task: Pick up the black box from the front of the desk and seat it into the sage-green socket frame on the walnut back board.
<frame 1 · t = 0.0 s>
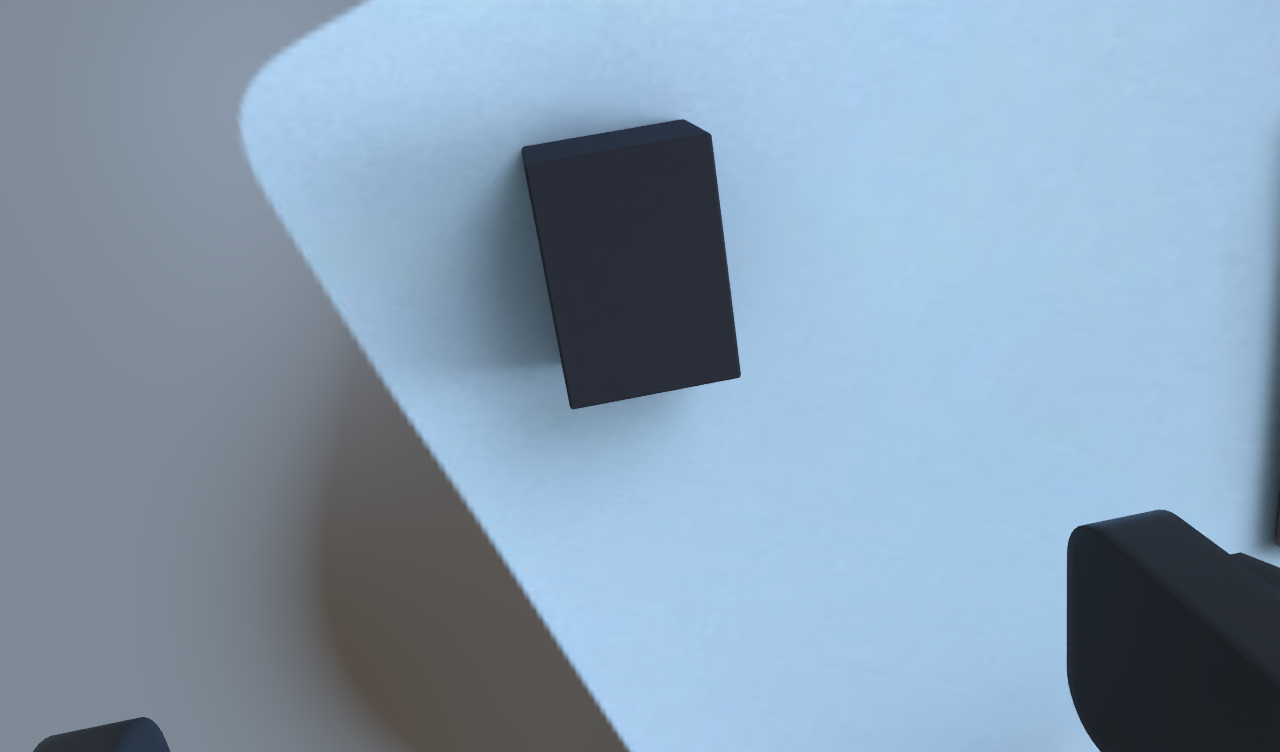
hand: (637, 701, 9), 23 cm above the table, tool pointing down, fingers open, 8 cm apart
black box: (621, 246, 31), on the table
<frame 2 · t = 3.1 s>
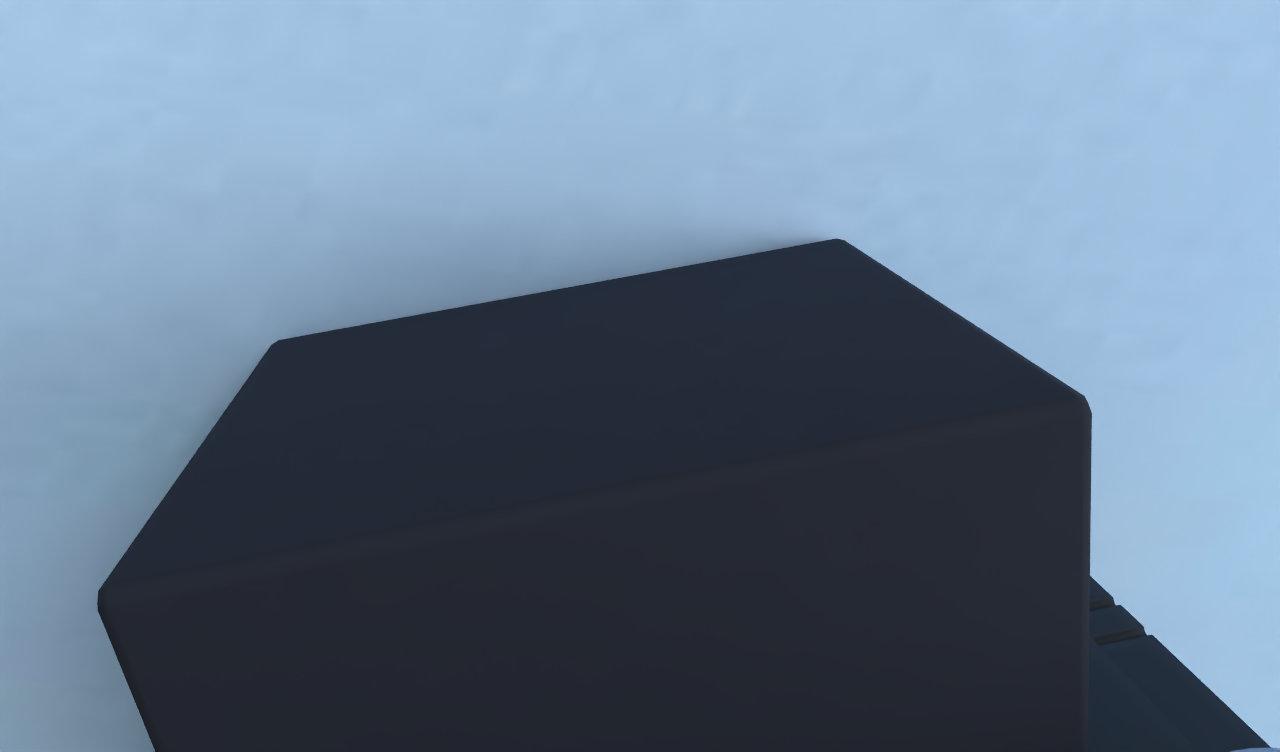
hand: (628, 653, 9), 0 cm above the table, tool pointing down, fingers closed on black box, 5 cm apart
black box: (625, 625, 10), on the table, touching gripper
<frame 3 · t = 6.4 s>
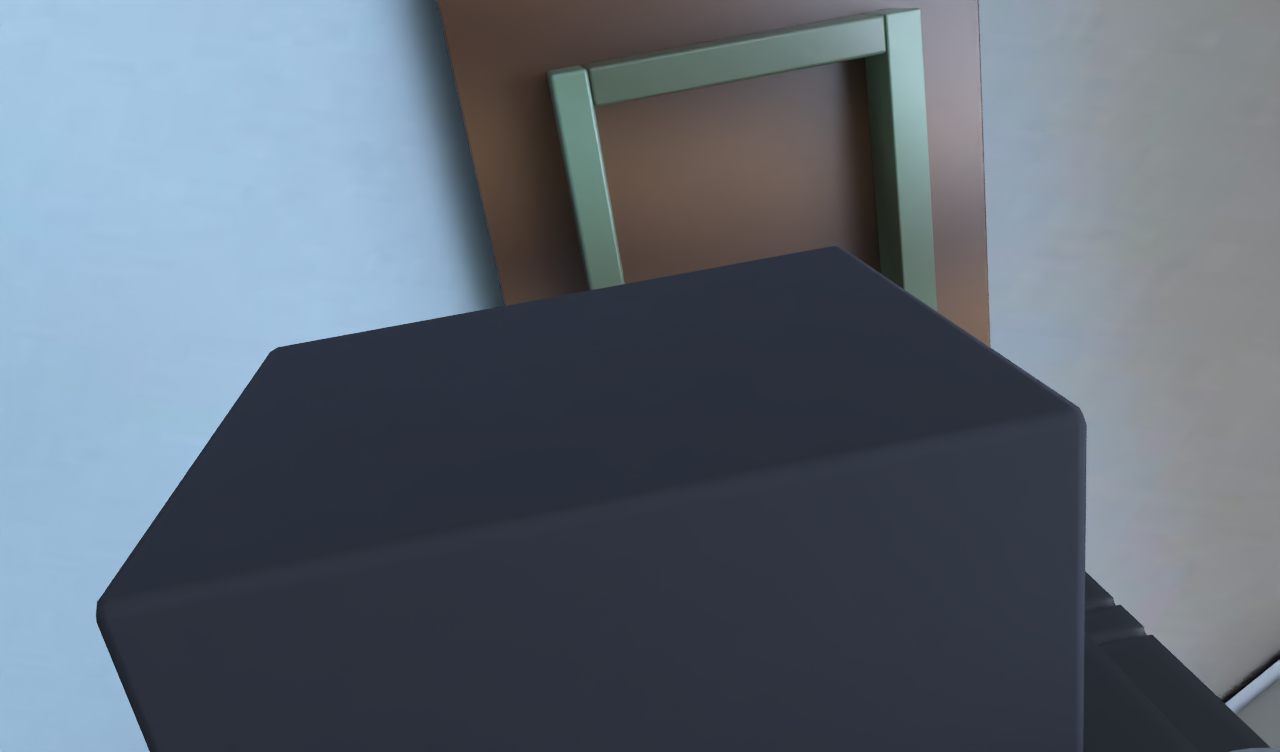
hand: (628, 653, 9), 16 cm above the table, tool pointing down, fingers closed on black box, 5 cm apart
black box: (623, 631, 10), point 16 cm above the table, touching gripper
back board: (739, 245, 25), on the table
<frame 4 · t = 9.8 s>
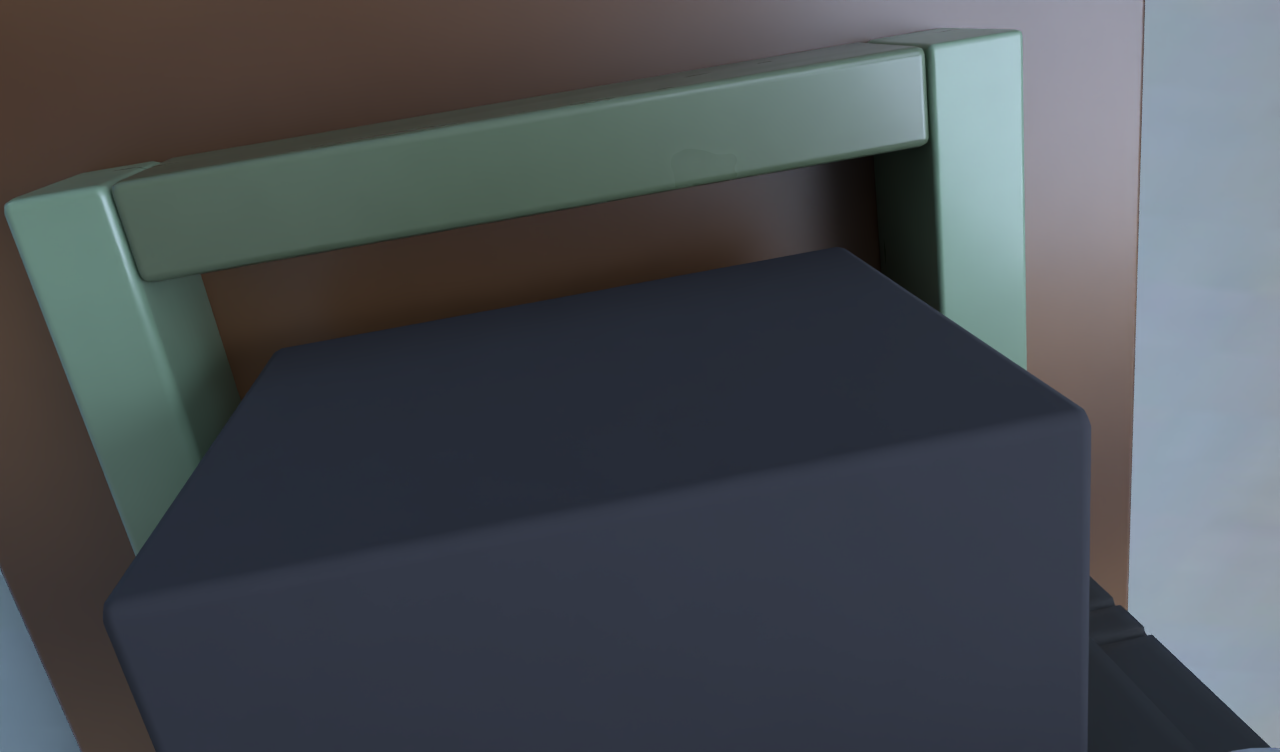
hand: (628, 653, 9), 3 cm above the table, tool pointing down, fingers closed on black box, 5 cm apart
black box: (626, 631, 10), point 2 cm above the table, touching gripper
back board: (603, 524, 12), on the table
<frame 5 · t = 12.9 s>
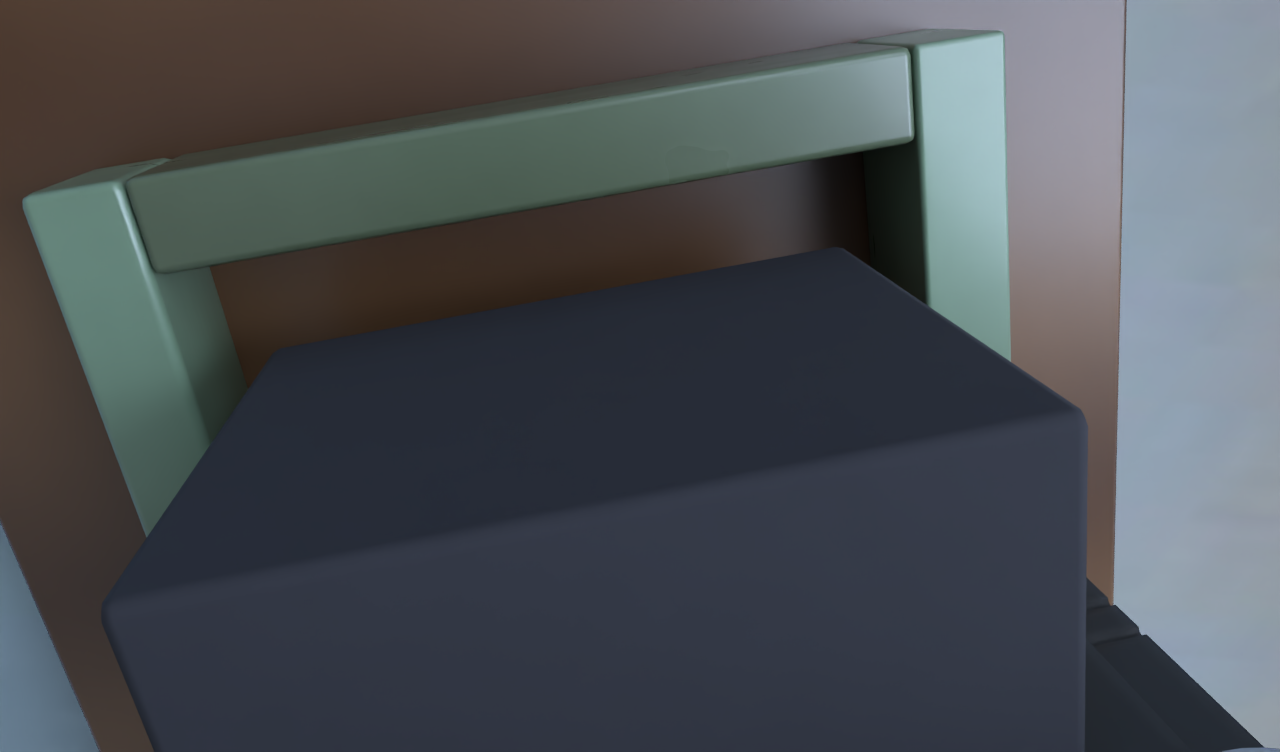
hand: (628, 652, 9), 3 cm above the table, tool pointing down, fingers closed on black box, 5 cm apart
black box: (625, 631, 10), point 2 cm above the table, touching gripper
back board: (601, 513, 12), on the table
when the fingers open (3 cm above the table, at t = 15.8 s): black box drops 2 cm, resting on back board.
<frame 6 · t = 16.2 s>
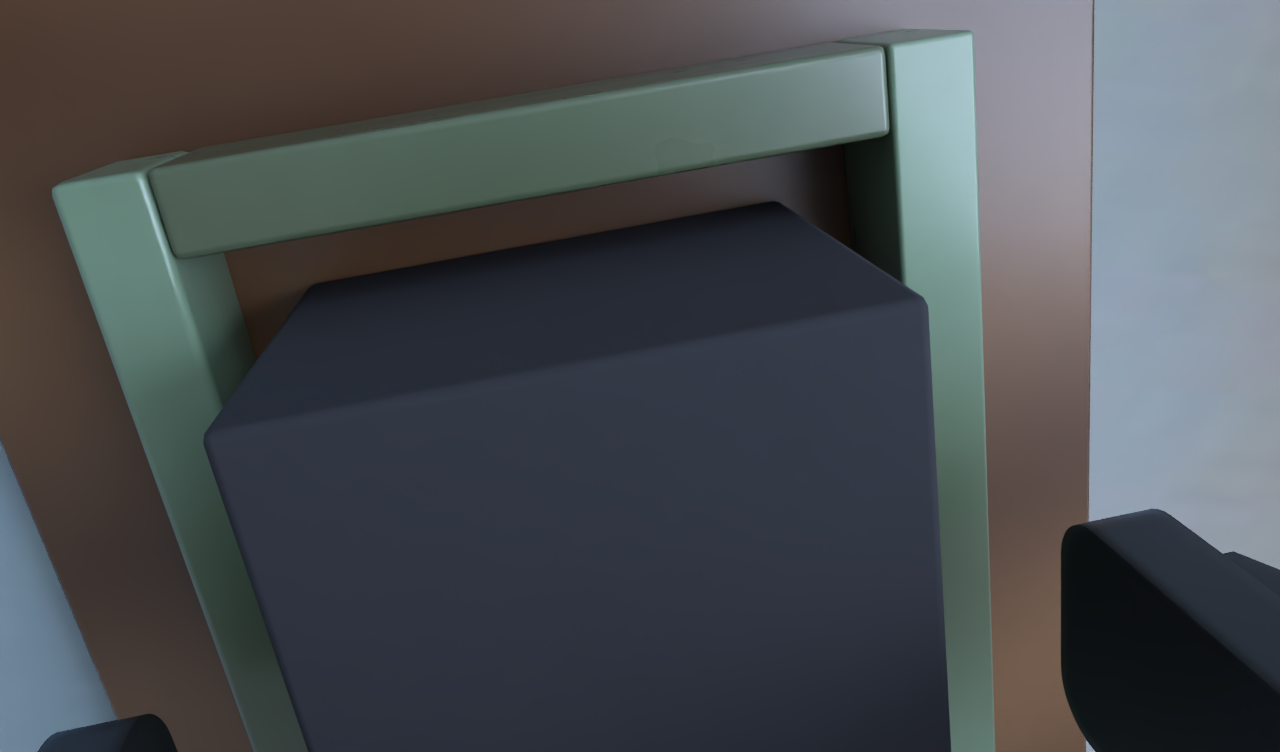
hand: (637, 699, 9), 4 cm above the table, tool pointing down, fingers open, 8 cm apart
black box: (602, 531, 12), point 1 cm above the table, touching back board
back board: (596, 493, 13), on the table
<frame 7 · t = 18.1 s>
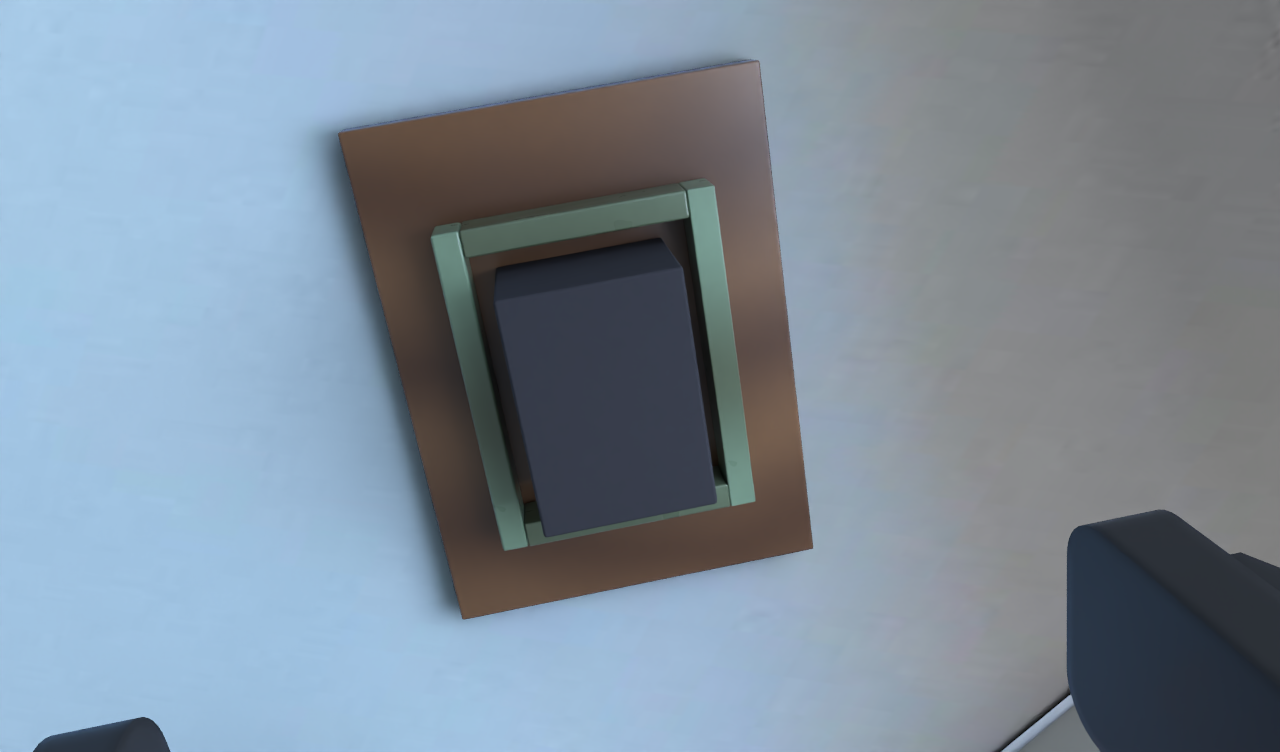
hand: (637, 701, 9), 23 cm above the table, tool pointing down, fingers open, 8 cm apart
black box: (599, 361, 31), point 1 cm above the table, touching back board
back board: (596, 352, 31), on the table
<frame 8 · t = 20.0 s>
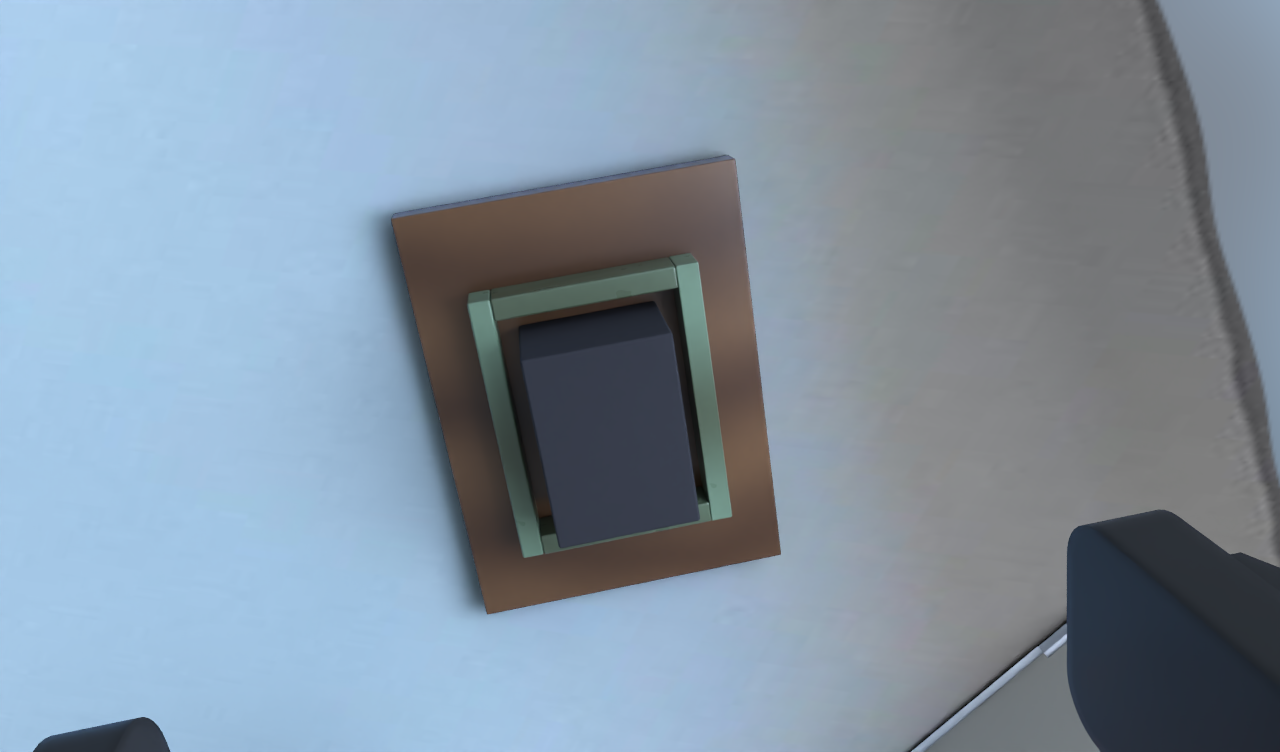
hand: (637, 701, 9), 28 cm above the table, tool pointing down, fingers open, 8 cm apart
black box: (602, 401, 37), point 1 cm above the table, touching back board
back board: (600, 392, 38), on the table
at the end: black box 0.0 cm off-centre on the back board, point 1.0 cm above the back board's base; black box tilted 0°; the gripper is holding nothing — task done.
